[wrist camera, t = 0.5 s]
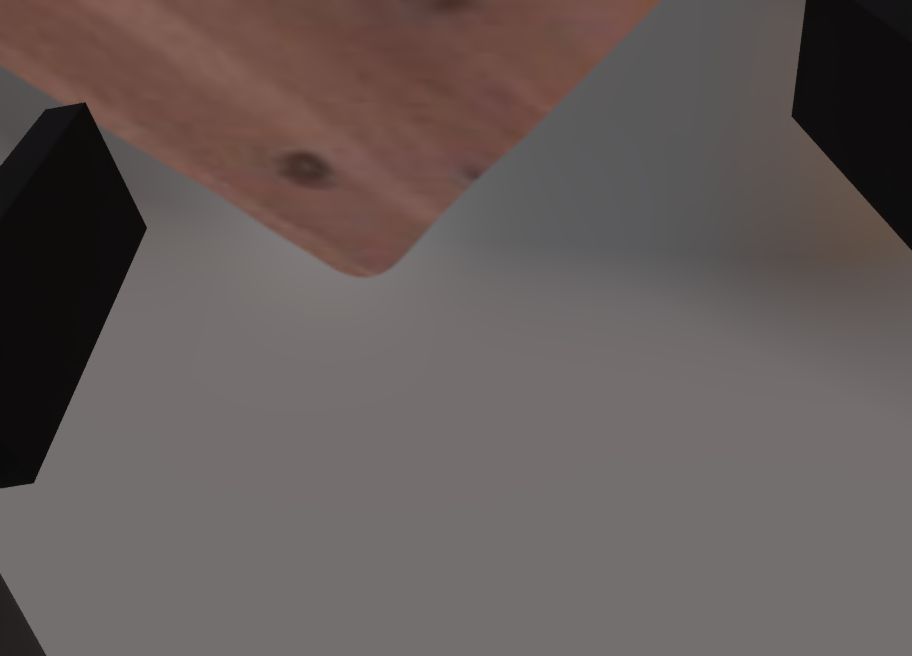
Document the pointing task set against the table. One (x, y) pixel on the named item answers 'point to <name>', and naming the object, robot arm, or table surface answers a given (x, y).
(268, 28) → the table surface
